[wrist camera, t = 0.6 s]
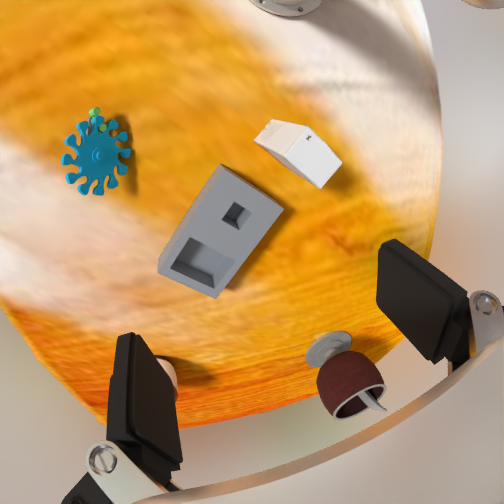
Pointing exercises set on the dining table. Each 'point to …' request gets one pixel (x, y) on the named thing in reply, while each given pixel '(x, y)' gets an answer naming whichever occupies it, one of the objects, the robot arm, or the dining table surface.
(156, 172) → the dining table surface
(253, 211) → the stand
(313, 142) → the skincare box
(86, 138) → the gear
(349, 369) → the mate gourd
